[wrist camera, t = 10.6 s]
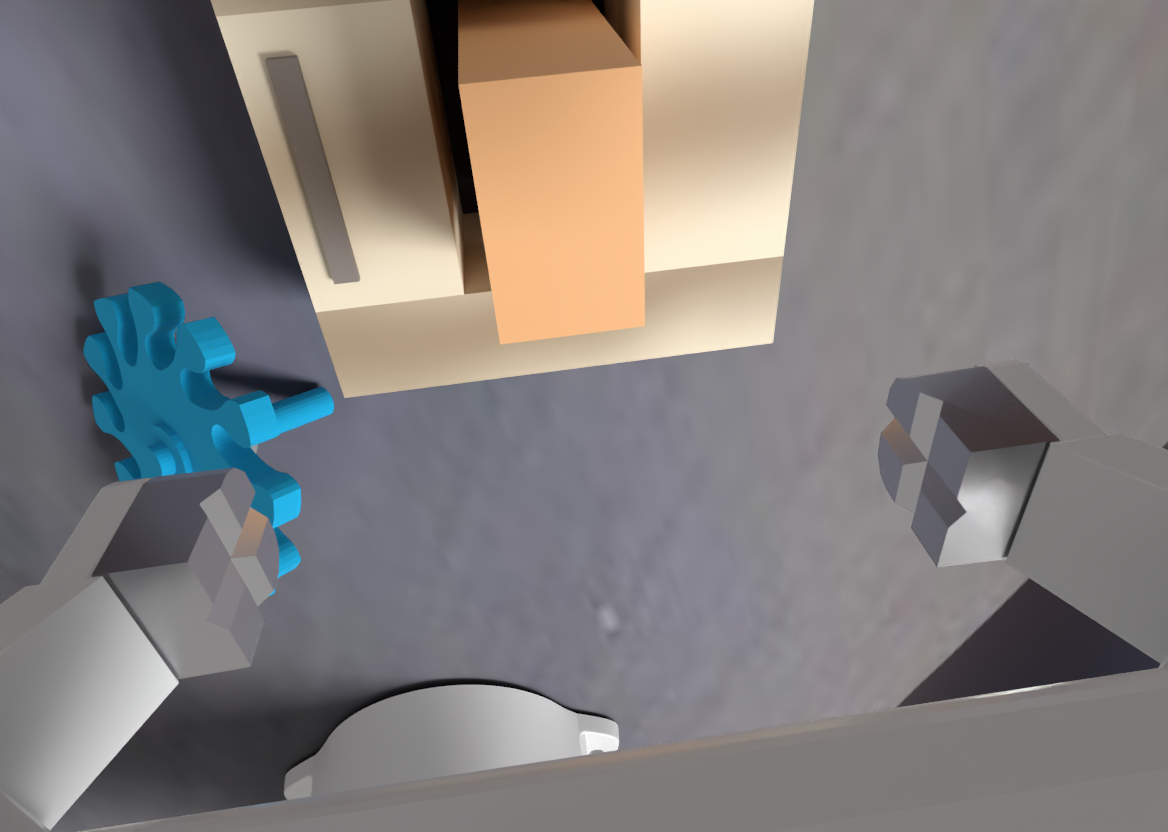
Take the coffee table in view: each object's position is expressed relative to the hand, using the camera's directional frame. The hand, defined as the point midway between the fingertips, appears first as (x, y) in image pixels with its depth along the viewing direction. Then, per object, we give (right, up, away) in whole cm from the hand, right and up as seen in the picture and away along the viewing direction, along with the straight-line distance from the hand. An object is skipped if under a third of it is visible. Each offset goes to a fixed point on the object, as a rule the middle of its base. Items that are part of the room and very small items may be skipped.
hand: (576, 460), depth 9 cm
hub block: (-2, +10, +11) cm, 15 cm away
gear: (-13, +2, +16) cm, 20 cm away
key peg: (-2, +10, +11) cm, 15 cm away
